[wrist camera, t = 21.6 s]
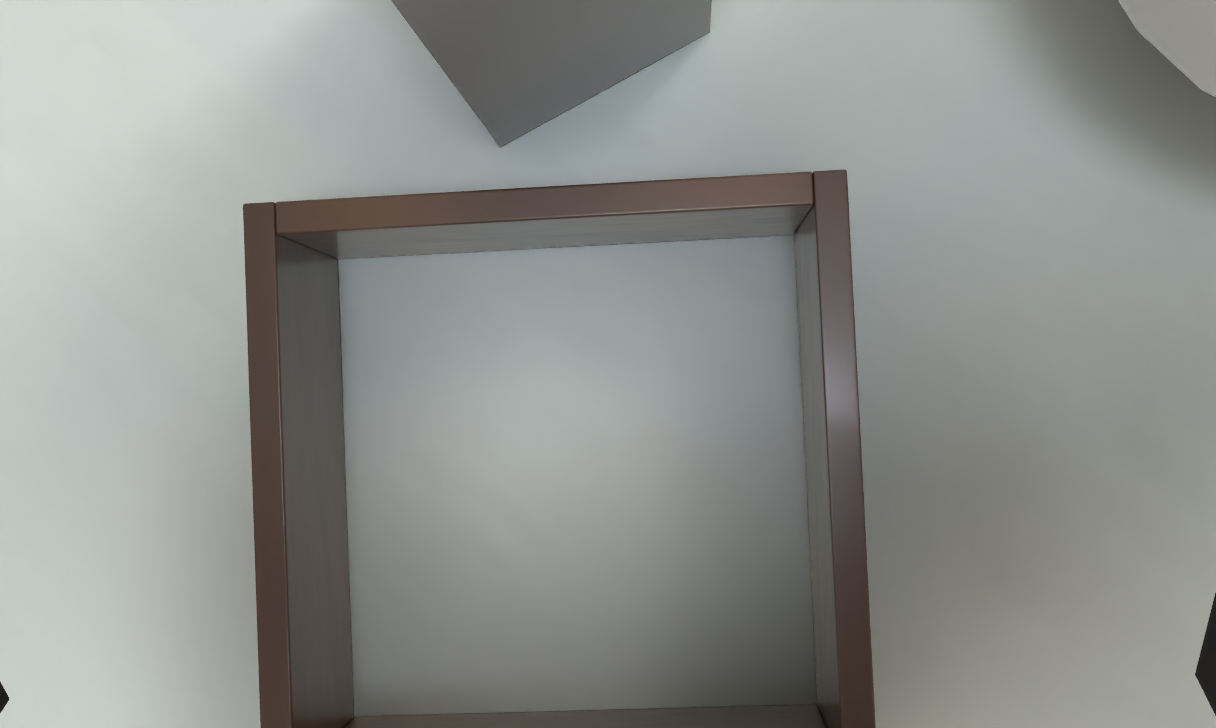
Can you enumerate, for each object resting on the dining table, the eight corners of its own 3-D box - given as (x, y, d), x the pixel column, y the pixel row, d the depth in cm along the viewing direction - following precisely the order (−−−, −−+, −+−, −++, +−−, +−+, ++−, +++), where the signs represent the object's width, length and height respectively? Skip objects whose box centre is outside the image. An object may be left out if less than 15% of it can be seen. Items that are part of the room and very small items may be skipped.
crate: (821, 205, 32) (847, 169, 27) (847, 732, 31) (879, 795, 26) (310, 233, 33) (242, 203, 28) (327, 745, 32) (262, 808, 27)
